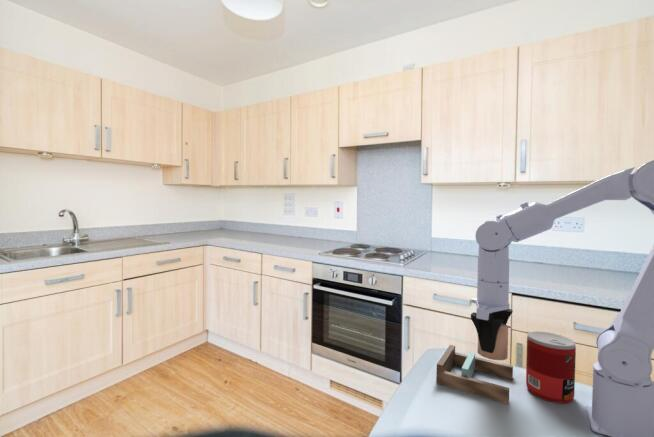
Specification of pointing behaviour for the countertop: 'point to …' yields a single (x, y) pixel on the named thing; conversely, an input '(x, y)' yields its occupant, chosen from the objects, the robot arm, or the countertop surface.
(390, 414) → the countertop surface
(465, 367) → the plate
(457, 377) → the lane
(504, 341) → the tan rounded cylinder
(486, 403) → the countertop surface
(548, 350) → the canned food
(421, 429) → the countertop surface
